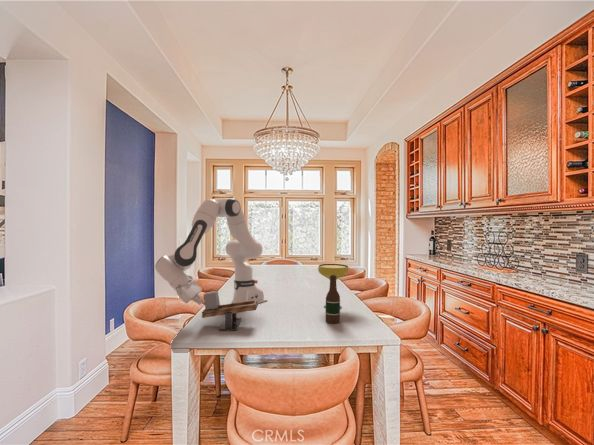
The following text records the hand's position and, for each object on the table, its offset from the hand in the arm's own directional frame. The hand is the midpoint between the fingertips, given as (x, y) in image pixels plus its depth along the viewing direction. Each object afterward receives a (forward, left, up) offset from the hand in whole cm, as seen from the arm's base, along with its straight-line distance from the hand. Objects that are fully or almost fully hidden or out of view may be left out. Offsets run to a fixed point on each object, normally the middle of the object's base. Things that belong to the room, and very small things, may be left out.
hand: (201, 303), depth 166 cm
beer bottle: (-58, +33, -11) cm, 67 cm away
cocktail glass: (-77, +12, -11) cm, 79 cm away
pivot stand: (-12, +9, -11) cm, 18 cm away
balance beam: (-12, +9, -4) cm, 15 cm away
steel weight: (-5, +3, -4) cm, 7 cm away
